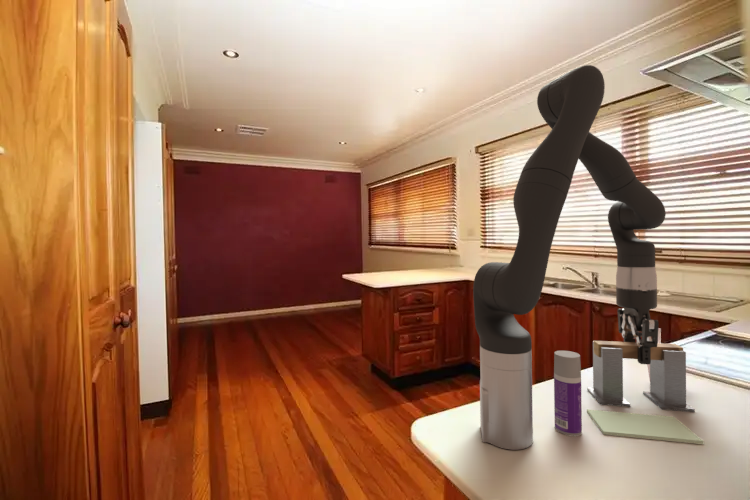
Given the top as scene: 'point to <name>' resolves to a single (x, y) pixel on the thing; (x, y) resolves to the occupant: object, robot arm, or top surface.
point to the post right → (669, 381)
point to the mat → (643, 426)
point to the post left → (608, 377)
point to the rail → (634, 349)
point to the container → (567, 393)
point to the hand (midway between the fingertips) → (636, 358)
